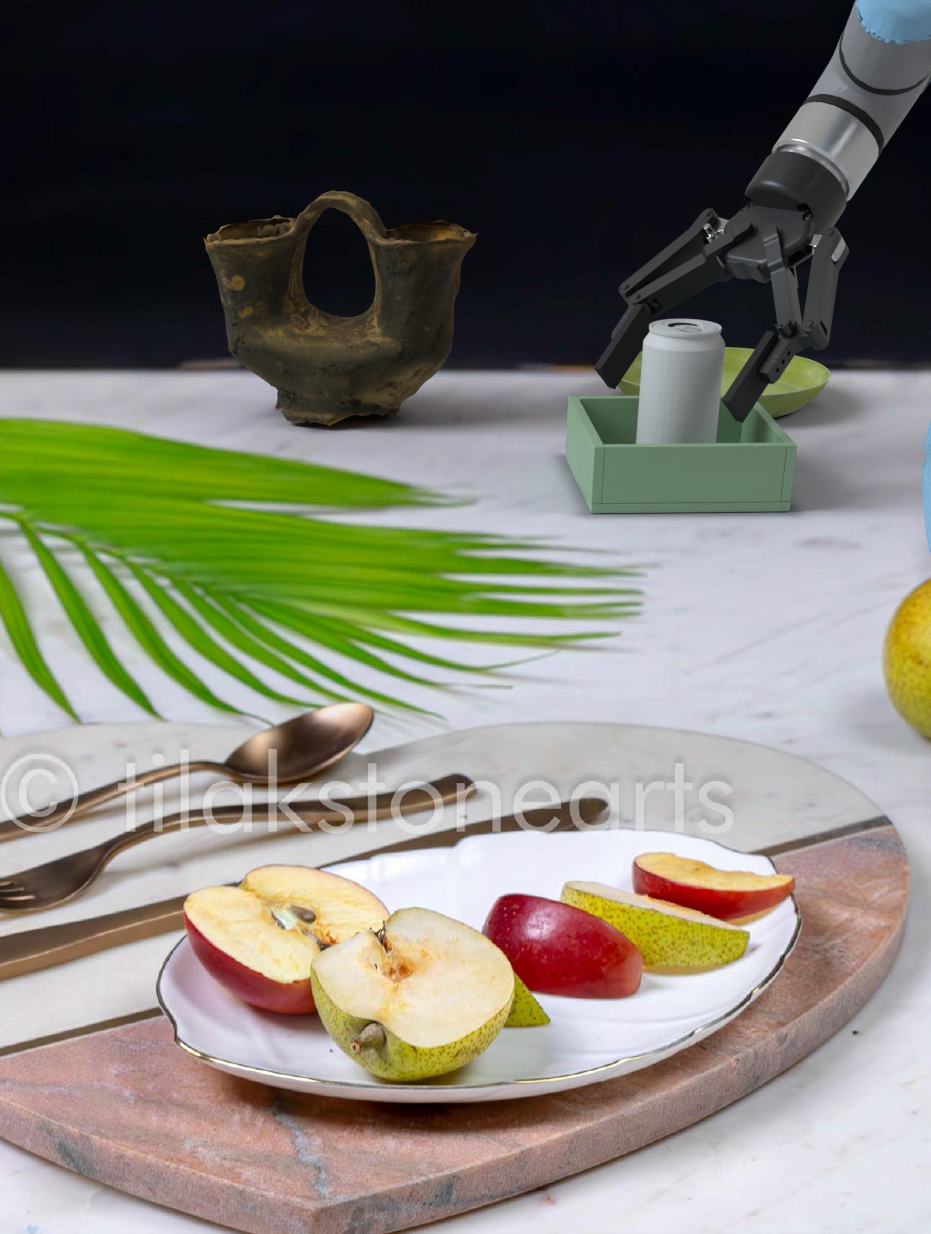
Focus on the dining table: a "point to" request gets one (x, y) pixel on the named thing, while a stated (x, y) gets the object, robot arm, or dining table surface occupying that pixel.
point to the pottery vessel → (331, 345)
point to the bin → (677, 462)
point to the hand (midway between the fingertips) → (665, 395)
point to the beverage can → (680, 382)
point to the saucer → (777, 398)
